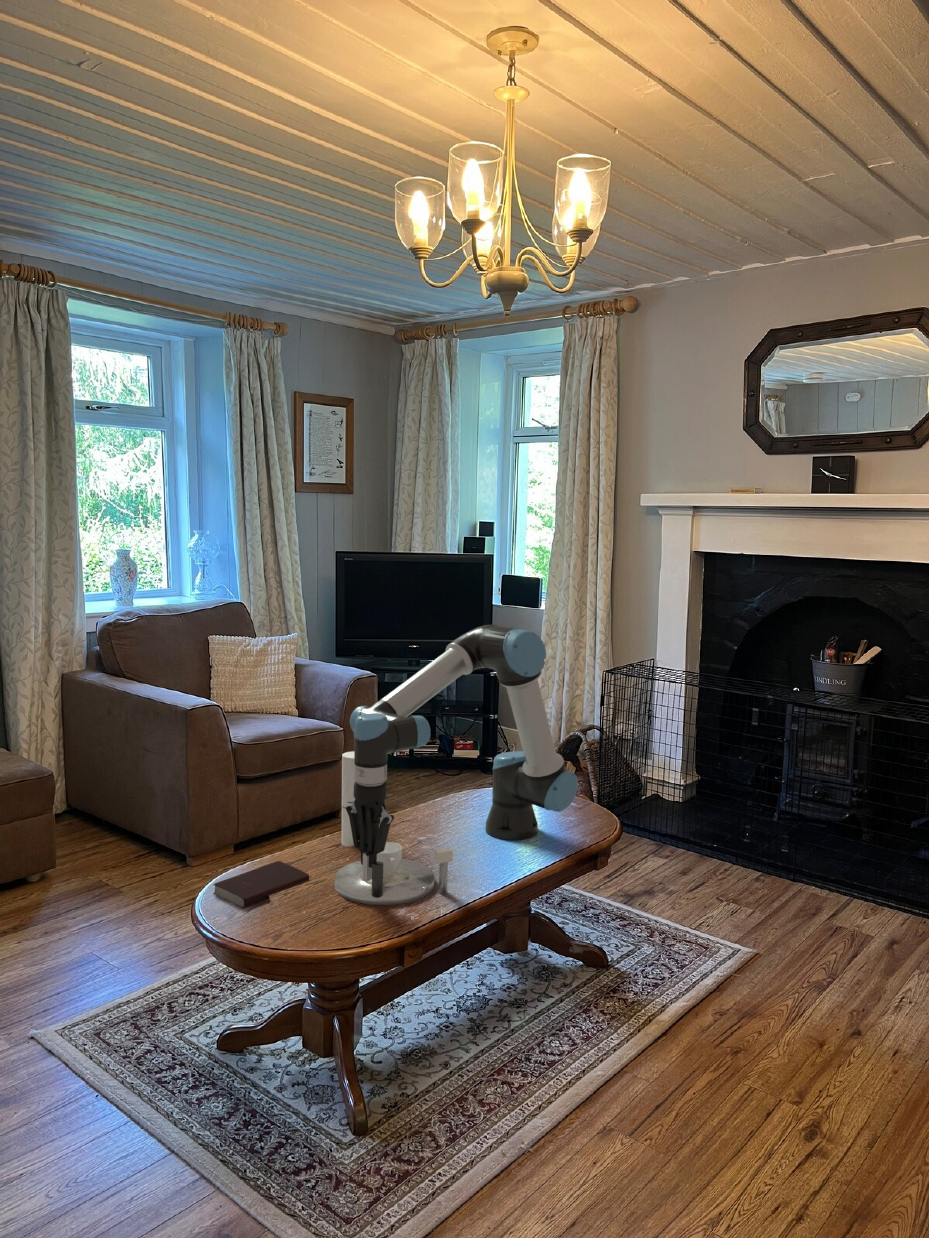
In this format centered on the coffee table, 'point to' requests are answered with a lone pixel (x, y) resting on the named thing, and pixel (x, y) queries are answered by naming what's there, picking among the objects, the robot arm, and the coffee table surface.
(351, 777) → the cylindrical container
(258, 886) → the book
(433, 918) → the coffee table surface
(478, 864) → the coffee table surface
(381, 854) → the cup
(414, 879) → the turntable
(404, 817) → the coffee table surface
